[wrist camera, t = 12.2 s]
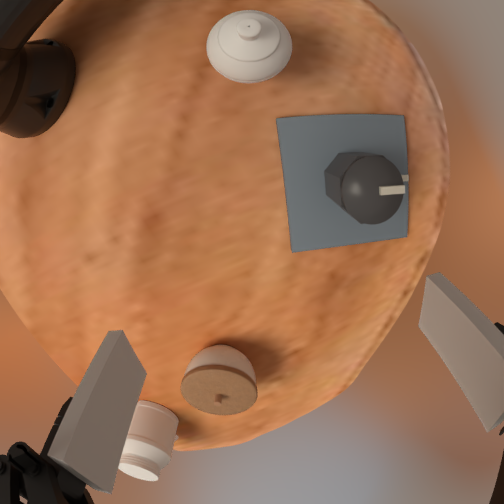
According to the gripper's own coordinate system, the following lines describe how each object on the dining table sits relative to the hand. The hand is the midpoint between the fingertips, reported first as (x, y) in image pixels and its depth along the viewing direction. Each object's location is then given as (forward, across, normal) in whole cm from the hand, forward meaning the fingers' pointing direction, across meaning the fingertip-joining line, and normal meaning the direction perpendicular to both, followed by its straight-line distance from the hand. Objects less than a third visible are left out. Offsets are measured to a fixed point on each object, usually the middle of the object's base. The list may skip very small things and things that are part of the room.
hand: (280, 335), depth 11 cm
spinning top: (+24, +2, +16) cm, 29 cm away
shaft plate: (+24, +11, +1) cm, 26 cm away
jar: (+24, -30, -40) cm, 55 cm away
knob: (+23, +11, +1) cm, 25 cm away
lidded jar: (+24, -10, -23) cm, 35 cm away
